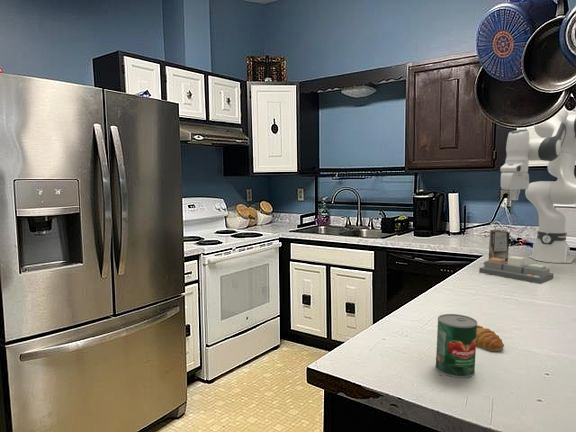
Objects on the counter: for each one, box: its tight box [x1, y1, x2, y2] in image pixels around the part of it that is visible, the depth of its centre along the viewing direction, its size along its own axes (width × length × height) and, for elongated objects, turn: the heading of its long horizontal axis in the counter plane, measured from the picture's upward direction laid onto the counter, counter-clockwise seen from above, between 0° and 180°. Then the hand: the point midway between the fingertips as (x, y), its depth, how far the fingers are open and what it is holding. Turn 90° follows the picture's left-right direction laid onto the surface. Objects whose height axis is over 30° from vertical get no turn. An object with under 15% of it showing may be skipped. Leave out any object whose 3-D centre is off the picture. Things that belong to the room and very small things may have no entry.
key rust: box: [488, 258, 505, 264], centre depth 186 cm, size 5×5×4 cm
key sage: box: [527, 263, 547, 270], centre depth 173 cm, size 5×5×4 cm
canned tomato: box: [435, 313, 478, 379], centre depth 92 cm, size 8×8×11 cm
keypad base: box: [478, 259, 555, 285], centre depth 180 cm, size 14×24×4 cm, turn 40°
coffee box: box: [488, 229, 510, 262], centre depth 199 cm, size 9×6×16 cm
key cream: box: [508, 255, 526, 267], centre depth 179 cm, size 5×5×4 cm
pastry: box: [476, 324, 505, 352], centre depth 106 cm, size 9×7×4 cm
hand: (514, 200), depth 185 cm, fingers closed
